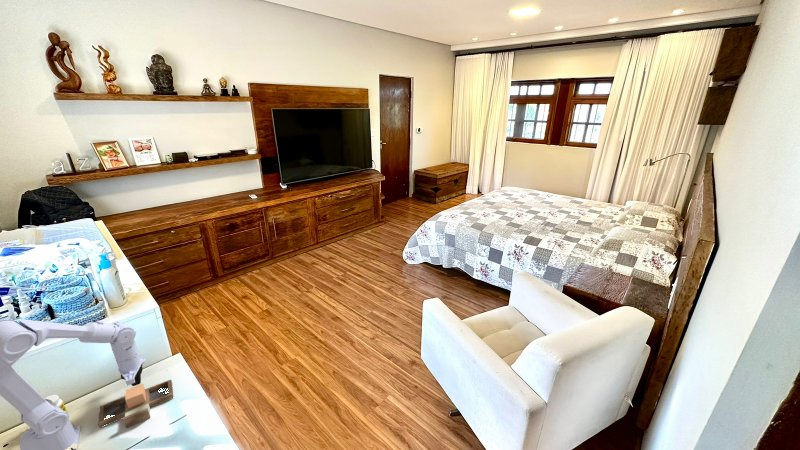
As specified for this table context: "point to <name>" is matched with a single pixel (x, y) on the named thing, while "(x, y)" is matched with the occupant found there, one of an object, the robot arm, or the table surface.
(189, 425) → the table surface
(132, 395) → the block
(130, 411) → the board
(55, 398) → the supplement bottle
